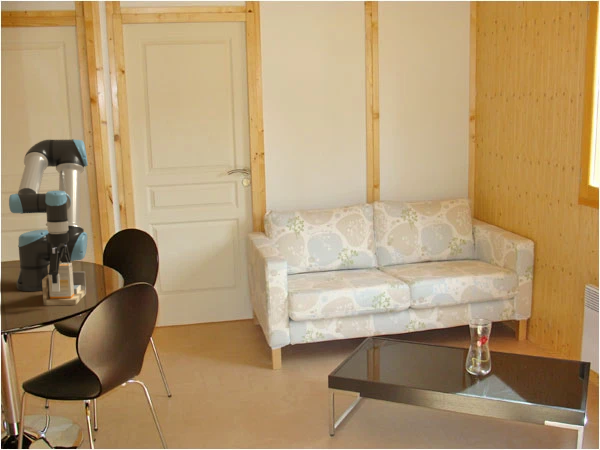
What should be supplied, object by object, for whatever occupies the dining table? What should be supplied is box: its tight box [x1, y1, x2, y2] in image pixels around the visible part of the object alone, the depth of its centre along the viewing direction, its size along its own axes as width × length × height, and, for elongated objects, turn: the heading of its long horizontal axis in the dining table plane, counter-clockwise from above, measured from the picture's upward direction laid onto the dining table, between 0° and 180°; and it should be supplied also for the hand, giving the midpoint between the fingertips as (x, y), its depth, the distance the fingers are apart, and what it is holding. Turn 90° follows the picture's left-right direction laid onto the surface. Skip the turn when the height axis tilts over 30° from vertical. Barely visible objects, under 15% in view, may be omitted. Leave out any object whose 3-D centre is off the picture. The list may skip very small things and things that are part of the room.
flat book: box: [74, 285, 81, 294], centre depth 275 cm, size 6×8×2 cm
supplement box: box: [48, 262, 74, 299], centre depth 267 cm, size 8×5×13 cm, turn 93°
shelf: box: [42, 271, 87, 306], centre depth 272 cm, size 16×12×10 cm
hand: (61, 286), depth 267 cm, fingers open, 13 cm apart
